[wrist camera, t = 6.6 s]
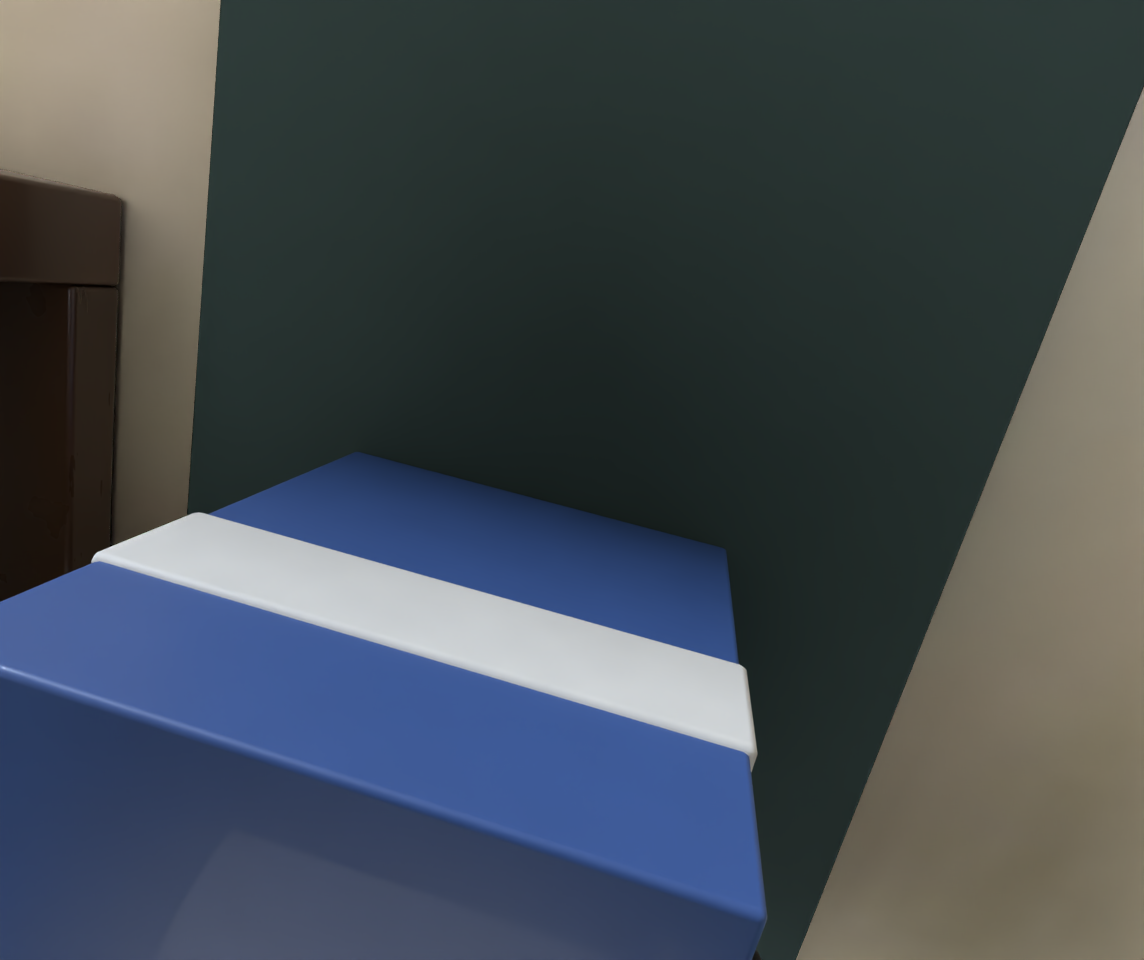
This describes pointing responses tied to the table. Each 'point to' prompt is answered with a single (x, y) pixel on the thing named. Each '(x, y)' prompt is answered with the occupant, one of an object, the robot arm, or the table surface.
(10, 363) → the shelf
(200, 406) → the mat
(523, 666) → the box
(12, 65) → the table surface
